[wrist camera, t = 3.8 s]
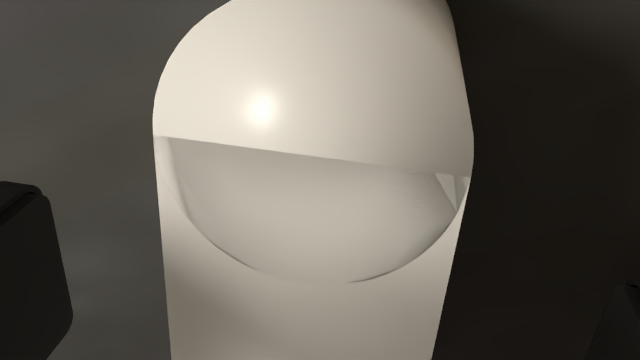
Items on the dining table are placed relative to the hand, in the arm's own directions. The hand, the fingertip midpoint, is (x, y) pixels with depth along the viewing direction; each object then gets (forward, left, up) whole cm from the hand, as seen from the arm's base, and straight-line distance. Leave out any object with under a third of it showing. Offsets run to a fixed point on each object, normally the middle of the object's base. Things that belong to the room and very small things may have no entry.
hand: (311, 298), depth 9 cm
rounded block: (-1, 0, -5) cm, 5 cm away
